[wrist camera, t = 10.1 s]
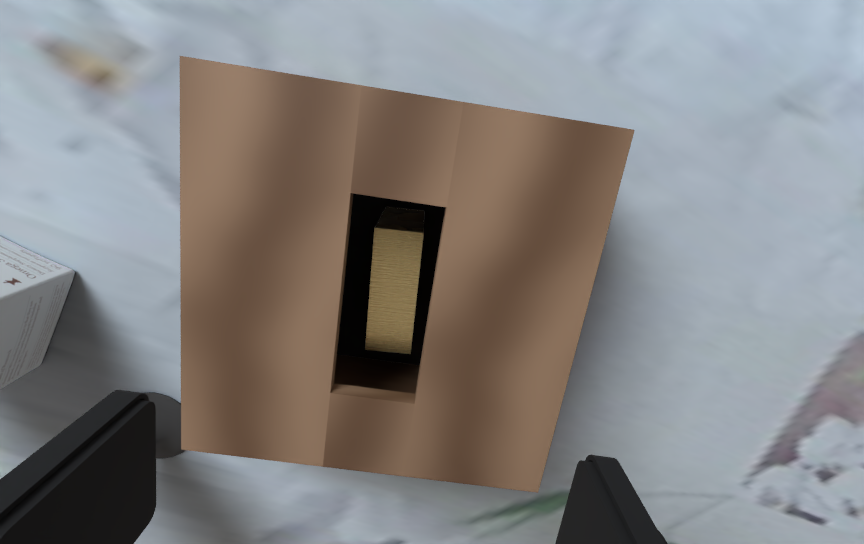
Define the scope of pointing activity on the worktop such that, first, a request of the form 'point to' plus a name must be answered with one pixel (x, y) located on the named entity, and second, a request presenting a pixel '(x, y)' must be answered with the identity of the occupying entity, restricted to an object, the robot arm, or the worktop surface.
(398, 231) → the tan rectangular block
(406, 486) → the worktop surface
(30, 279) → the supplement box
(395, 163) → the brown slotted wooden box
